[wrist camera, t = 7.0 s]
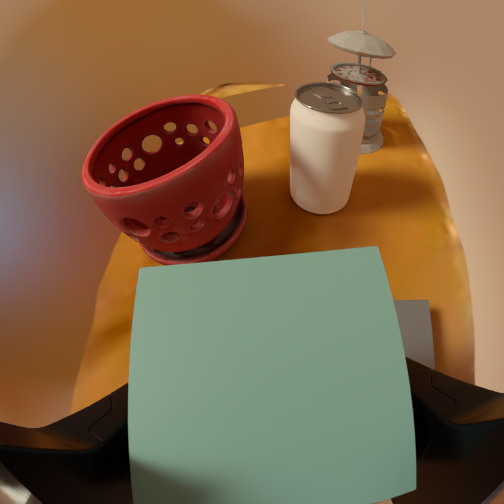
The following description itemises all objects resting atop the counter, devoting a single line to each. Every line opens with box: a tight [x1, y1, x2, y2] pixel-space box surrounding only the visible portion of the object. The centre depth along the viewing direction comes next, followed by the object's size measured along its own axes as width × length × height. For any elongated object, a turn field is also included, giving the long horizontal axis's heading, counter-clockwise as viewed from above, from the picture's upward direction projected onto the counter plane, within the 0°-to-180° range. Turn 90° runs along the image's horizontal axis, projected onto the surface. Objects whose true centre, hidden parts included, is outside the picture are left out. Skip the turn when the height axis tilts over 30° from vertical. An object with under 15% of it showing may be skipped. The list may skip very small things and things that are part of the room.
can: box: [290, 82, 365, 214], centre depth 25 cm, size 6×6×12 cm
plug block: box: [128, 246, 416, 504], centre depth 9 cm, size 5×5×12 cm
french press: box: [327, 0, 396, 154], centre depth 25 cm, size 10×12×25 cm
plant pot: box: [82, 95, 248, 266], centre depth 24 cm, size 13×13×12 cm
